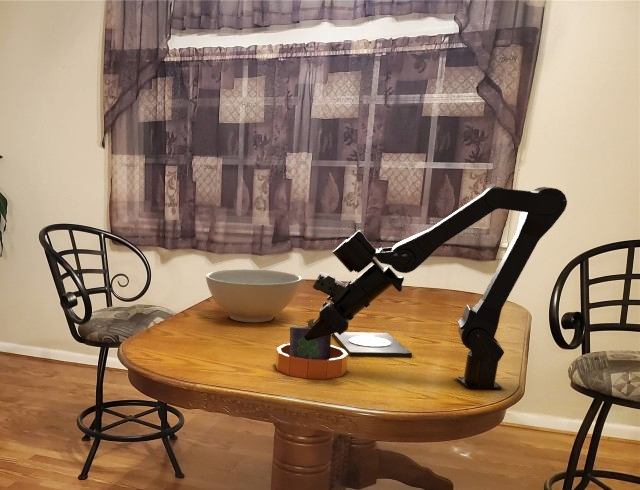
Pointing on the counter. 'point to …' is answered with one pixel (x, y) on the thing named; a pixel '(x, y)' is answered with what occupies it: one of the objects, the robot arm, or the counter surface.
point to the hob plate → (371, 344)
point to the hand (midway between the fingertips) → (306, 336)
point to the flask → (308, 343)
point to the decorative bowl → (252, 292)
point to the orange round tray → (311, 364)
